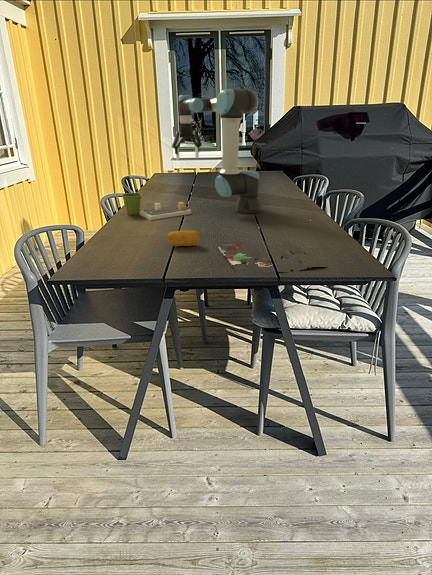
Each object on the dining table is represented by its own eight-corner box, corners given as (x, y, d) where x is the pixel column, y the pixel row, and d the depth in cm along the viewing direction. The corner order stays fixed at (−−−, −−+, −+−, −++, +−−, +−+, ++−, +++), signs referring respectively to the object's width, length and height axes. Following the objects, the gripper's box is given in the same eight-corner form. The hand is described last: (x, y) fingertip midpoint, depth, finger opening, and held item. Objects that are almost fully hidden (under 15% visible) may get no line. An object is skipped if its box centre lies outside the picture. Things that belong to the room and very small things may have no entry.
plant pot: (139, 216, 229) (137, 196, 224) (120, 215, 231) (117, 196, 226) (146, 211, 239) (145, 192, 235) (128, 211, 242) (126, 192, 237)
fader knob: (184, 209, 233) (184, 202, 231) (181, 210, 232) (180, 203, 230) (182, 208, 235) (181, 201, 233) (178, 209, 234) (178, 202, 232)
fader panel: (191, 213, 233) (190, 203, 230) (150, 220, 220) (149, 209, 218) (179, 208, 245) (178, 198, 242) (139, 214, 233) (138, 204, 230)
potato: (168, 243, 182) (167, 228, 179) (200, 243, 181) (199, 228, 178) (166, 248, 175) (165, 233, 172) (199, 248, 175) (198, 233, 172)
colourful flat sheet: (240, 279, 144) (240, 274, 143) (217, 249, 175) (217, 245, 174) (327, 269, 151) (327, 264, 150) (290, 242, 182) (290, 238, 181)
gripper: (200, 122, 254) (201, 156, 262) (164, 123, 242) (167, 159, 251) (206, 122, 248) (207, 157, 256) (170, 123, 236) (172, 161, 245)
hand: (187, 158), depth 254 cm, fingers open, 13 cm apart
